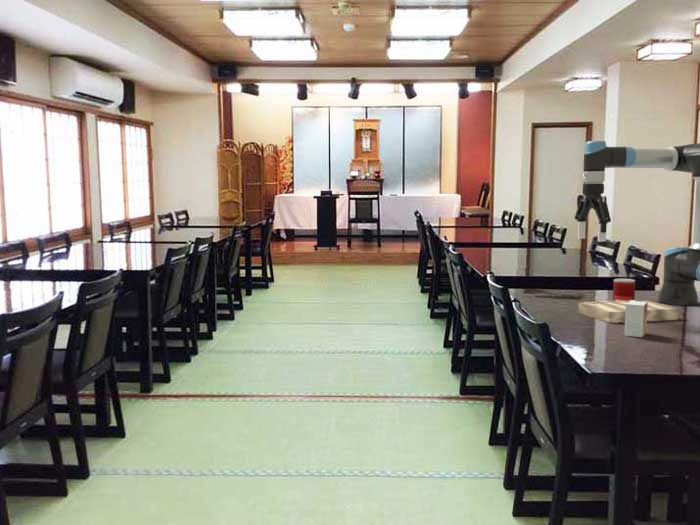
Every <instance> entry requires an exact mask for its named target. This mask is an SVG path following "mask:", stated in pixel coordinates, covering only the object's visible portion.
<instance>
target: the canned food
mask: <svg viewBox="0 0 700 525" xmlns="http://www.w3.org/2000/svg"><path fill="white" fill-rule="evenodd" d="M612 289H613V290H612V293H613V294H612V301H622V300H635V298H636V297H635V296H636V295H635V294H636V280H635V279H632V278H615V279H613V288H612Z"/></svg>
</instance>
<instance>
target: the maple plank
mask: <svg viewBox="0 0 700 525" xmlns="http://www.w3.org/2000/svg"><path fill="white" fill-rule="evenodd" d="M630 301H639V302H648V306H647V322H655V321H656V322H658V321H659V322H661V321H678V320H679V310H680V309H679V308H677V307H674V306H669V305H667V304H663V303H660V302H654V301H650V300H647V299H634V300H622V301H613V300H605V301H604V300H602V301H583V302H582V301H581V302H580V301H579V302H578V313H579V314H581V315H584V316H587V317H589V318H592V317H593V319H595V318H596V319H595V320H598V319H599V320H598V321H601V320H602V321H601V322H604V321H605V323H608V324H618V323H619V322H622V323H625V313H626V304H627V303H629V302H630Z"/></svg>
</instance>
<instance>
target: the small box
mask: <svg viewBox="0 0 700 525" xmlns="http://www.w3.org/2000/svg"><path fill="white" fill-rule="evenodd" d="M647 306H648V302H639V301H630V302H629V303H627V304H626V313H625V322H624V336H626V337H635V338H636V337H637V338H643V337H644V336H645V335H646V334H647V324H648V323H647V322H648V321H647Z"/></svg>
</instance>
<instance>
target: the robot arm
mask: <svg viewBox="0 0 700 525" xmlns="http://www.w3.org/2000/svg"><path fill="white" fill-rule="evenodd" d="M606 143H607V142H606V141H604V140H589V141H586V142H584V147H583V174H582V177H583V178H582V182H583V184H582V194H584V195H580V196H579V203H578V206H577V210H576V213H575V215H574V220H576V221H577V239H579V240H580V239H581V240H582V239H586V229H587V228H586V226H587V217H588V215H589V212H590V211H591V209H593V210H594V212H595V214H596V216H597V218H598V221H599V222H598V230H597V233H598V234H597V242H598V243H602V242H606V241H607V240H606V239H607V226H608V225H607V224H609V223H611V221H612V219H611V215H610V214H611V213H610V210H609V207H608V203H607V202H608V201H607V200H608V199H607V196H603V194H605V184H604V183H605V178H606V175H605V172H606V169H611V168H613V169H616V168H617V169H620V168H621V169H633V168H634V169H664V170H666V171H669V172H672V171H674V172H683V173H689V174H692V176H691V178H692V179H693V180H694V181H695V182H696V184H695V202H694V204H695V205H694V220H693V221H694V222H693V235H692V236H693V237H692V238H693V240H692V244H690V245H689V246H679V247H676V246H675V247H668V248H666V249H665V250H664V256H663V258H664V260H663V279H662V280H663V282H662V286H661V287H660V291H659V294H658V296H657V303H660V304H664V305H675V306H696V305H698V304H699V297H698V293H697V289H696V286H695V282H700V142H699V143H698V142H697V143H690V144H683V145H677V146H675V145H674V146H667V147H666V148H634V147H632V146H607V144H606Z"/></svg>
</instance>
